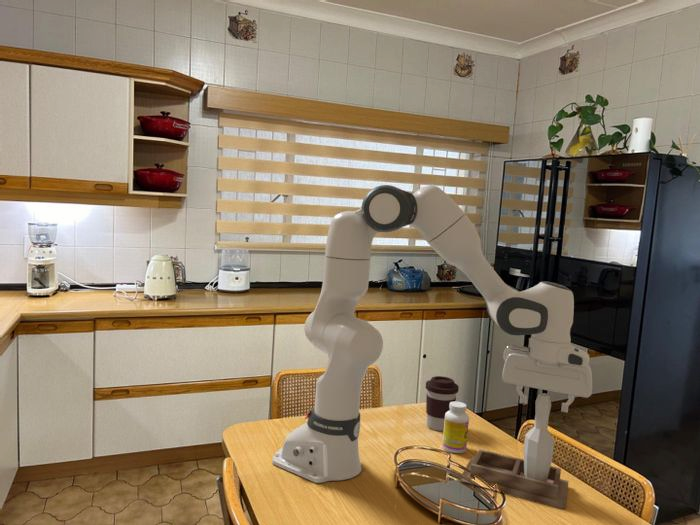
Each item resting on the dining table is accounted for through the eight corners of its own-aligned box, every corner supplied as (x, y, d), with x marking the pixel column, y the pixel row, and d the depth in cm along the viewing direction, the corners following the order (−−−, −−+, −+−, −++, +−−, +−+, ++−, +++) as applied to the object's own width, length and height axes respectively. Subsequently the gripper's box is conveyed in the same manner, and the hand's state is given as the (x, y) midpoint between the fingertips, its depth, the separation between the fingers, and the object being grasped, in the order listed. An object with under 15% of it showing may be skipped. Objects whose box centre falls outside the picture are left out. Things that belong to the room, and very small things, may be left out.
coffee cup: (417, 421, 172) (420, 374, 170) (445, 419, 175) (449, 373, 173) (430, 434, 162) (435, 385, 161) (460, 432, 166) (465, 384, 164)
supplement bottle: (466, 455, 150) (470, 410, 148) (441, 452, 151) (445, 406, 150) (466, 445, 156) (470, 401, 155) (442, 442, 158) (446, 398, 156)
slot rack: (460, 481, 135) (462, 464, 134) (471, 462, 146) (472, 446, 145) (565, 509, 125) (567, 490, 125) (567, 486, 136) (569, 469, 136)
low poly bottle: (515, 477, 135) (524, 390, 133) (537, 475, 137) (546, 389, 135) (532, 490, 129) (542, 400, 127) (554, 487, 132) (564, 398, 129)
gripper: (502, 346, 132) (496, 402, 133) (595, 361, 123) (588, 420, 125) (506, 341, 137) (501, 394, 139) (595, 355, 129) (589, 412, 130)
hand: (543, 407), depth 132 cm, fingers open, 8 cm apart
